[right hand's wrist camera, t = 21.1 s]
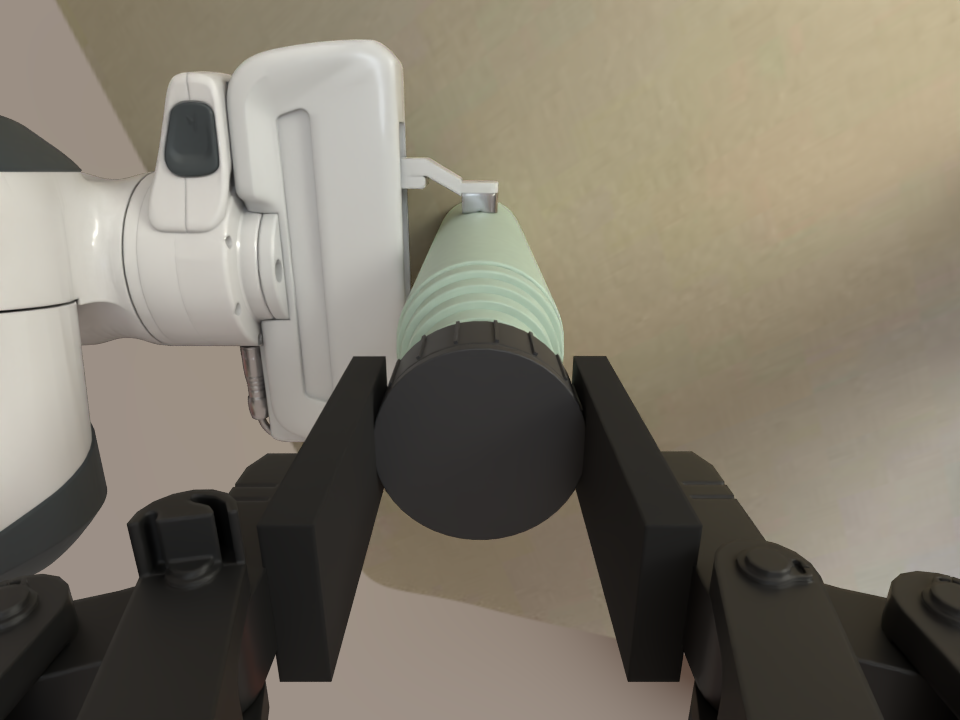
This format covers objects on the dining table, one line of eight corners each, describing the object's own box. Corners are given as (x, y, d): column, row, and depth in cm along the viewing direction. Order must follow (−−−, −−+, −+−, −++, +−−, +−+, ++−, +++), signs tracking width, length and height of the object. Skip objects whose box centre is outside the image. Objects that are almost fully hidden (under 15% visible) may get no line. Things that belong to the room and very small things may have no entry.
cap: (343, 385, 14) (323, 422, 12) (509, 278, 13) (513, 300, 11) (454, 522, 16) (451, 574, 14) (611, 433, 15) (630, 475, 13)
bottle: (479, 300, 39) (479, 573, 15) (419, 241, 38) (309, 434, 13) (540, 242, 38) (651, 435, 13) (480, 179, 36) (481, 264, 12)
